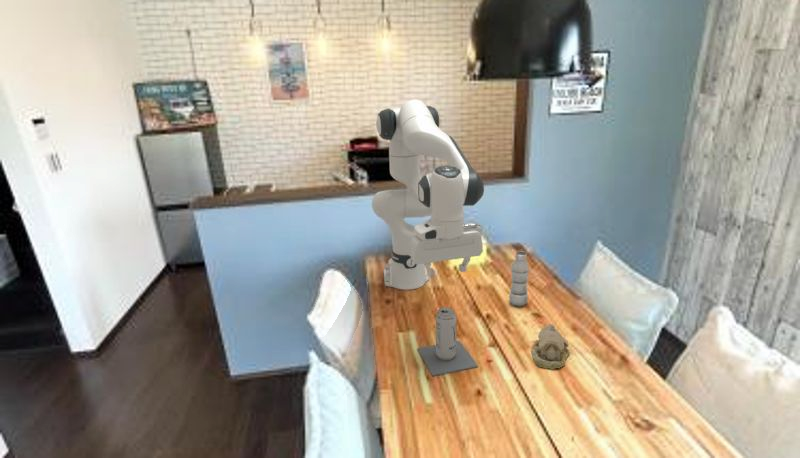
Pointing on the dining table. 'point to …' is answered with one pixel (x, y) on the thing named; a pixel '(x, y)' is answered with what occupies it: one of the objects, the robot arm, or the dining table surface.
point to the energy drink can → (446, 334)
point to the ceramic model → (550, 348)
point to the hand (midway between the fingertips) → (447, 273)
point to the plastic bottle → (519, 280)
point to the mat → (447, 366)
